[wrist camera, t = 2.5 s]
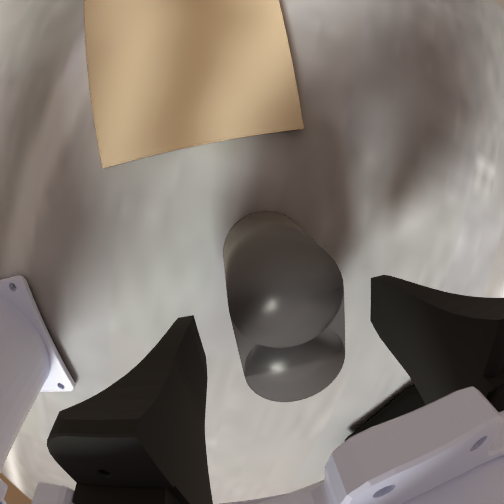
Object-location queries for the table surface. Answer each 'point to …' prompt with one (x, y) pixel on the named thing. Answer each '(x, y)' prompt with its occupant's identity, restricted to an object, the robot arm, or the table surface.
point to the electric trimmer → (395, 409)
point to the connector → (284, 307)
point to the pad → (186, 74)
